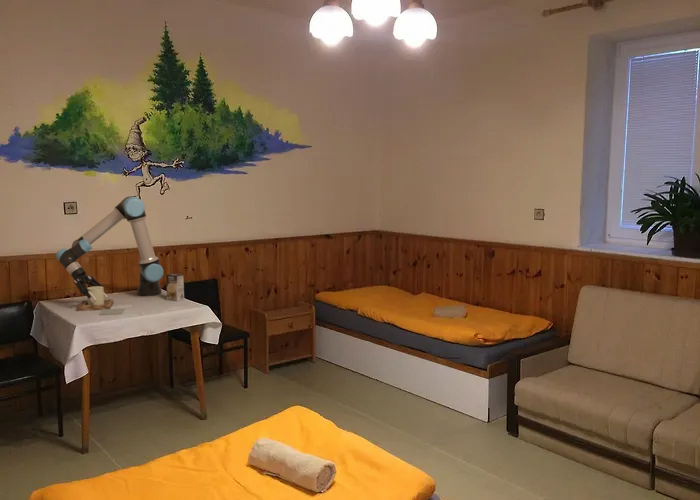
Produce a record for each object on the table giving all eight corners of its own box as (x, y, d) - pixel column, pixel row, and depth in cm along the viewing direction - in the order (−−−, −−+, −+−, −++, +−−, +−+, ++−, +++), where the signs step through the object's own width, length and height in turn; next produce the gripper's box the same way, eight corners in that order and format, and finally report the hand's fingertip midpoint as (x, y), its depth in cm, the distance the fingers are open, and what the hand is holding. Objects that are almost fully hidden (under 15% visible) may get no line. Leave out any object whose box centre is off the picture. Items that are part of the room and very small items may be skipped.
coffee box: (166, 299, 382) (165, 274, 380) (173, 298, 388) (172, 272, 386) (177, 301, 378) (176, 275, 376) (184, 299, 384) (184, 274, 382)
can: (98, 309, 356) (97, 288, 354) (84, 308, 357) (83, 288, 356) (107, 305, 364) (106, 285, 363) (93, 305, 366) (92, 285, 365)
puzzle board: (113, 303, 371) (113, 299, 371) (109, 309, 355) (109, 305, 354) (83, 304, 367) (83, 300, 367) (77, 310, 351) (77, 306, 350)
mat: (124, 309, 355) (124, 308, 355) (121, 314, 344) (121, 313, 343) (102, 310, 352) (102, 309, 352) (99, 315, 341) (98, 314, 341)
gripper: (85, 272, 373) (109, 300, 371) (59, 278, 353) (83, 307, 350) (92, 264, 371) (116, 292, 369) (66, 269, 351) (91, 299, 348)
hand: (100, 299), depth 359 cm, fingers closed on can, 9 cm apart
